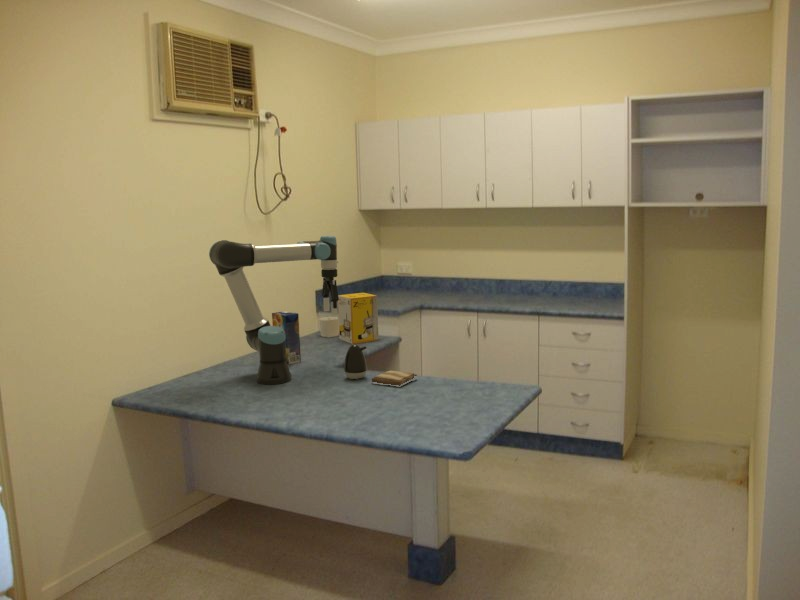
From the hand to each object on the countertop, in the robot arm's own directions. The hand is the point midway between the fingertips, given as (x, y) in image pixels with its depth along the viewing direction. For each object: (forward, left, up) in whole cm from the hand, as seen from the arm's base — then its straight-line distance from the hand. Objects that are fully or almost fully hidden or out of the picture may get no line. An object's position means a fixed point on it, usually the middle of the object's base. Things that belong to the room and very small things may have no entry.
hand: (330, 313), depth 348 cm
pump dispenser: (-17, -26, -25) cm, 40 cm away
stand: (-15, -45, -25) cm, 54 cm away
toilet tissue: (+55, +44, -25) cm, 75 cm away
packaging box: (+53, +22, -25) cm, 62 cm away
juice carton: (-5, +24, -25) cm, 35 cm away
